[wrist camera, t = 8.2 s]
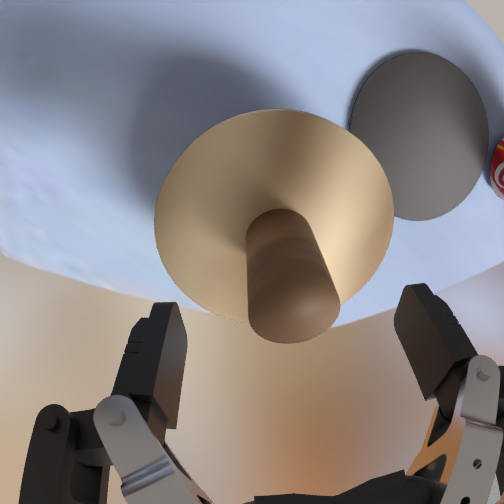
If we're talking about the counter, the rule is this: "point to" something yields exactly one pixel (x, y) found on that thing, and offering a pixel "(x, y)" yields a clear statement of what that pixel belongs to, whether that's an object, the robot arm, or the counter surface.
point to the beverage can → (498, 170)
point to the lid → (274, 221)
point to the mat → (423, 132)
